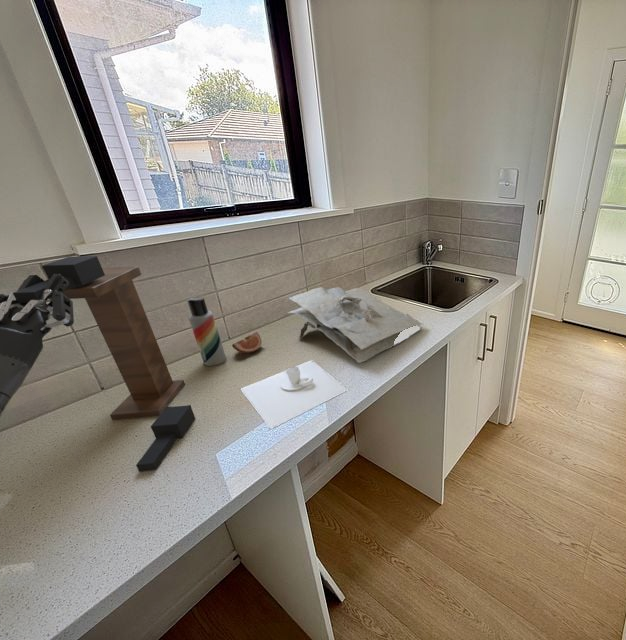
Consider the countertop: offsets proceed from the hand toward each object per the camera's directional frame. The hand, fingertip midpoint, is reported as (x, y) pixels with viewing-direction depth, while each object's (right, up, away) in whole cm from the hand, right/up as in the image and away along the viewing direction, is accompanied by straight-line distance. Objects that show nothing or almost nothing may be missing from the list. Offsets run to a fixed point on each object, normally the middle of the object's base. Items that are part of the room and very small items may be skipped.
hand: (49, 277), depth 59 cm
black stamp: (0, -2, +2) cm, 3 cm away
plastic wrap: (+43, -12, +57) cm, 72 cm away
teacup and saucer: (+32, -26, +28) cm, 50 cm away
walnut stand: (-2, -28, +23) cm, 36 cm away
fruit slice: (+11, -17, +45) cm, 49 cm away
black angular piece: (+12, -33, +12) cm, 37 cm away
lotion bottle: (+4, -20, +40) cm, 45 cm away
